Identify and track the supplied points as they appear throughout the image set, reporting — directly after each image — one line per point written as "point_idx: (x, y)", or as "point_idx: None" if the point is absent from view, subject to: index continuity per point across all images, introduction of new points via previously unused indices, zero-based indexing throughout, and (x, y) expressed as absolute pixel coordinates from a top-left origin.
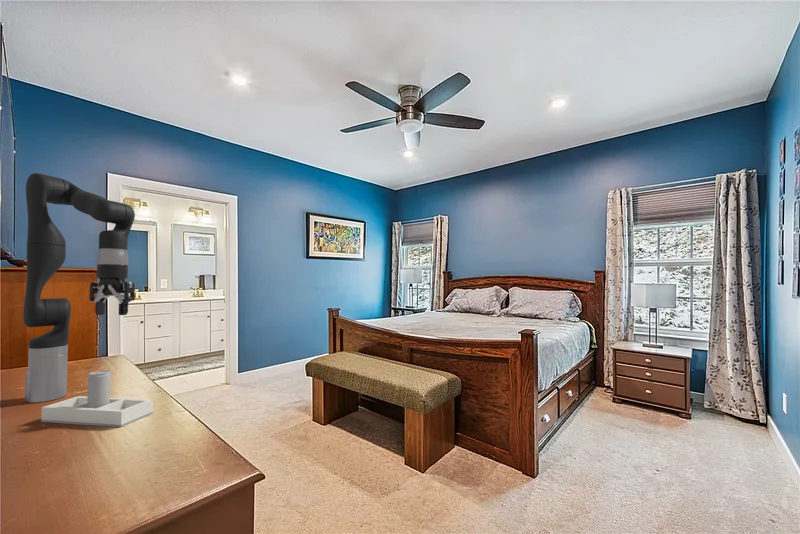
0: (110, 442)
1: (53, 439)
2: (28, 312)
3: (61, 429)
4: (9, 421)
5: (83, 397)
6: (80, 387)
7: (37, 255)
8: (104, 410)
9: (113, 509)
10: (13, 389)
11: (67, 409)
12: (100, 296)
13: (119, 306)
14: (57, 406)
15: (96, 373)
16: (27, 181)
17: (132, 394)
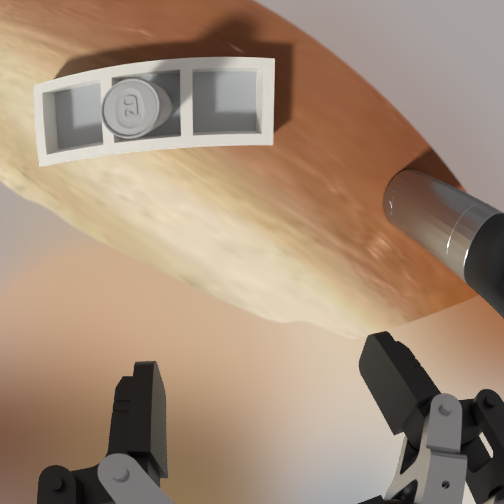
0: (13, 41)
1: (126, 5)
2: None
3: (165, 38)
4: (343, 65)
5: (245, 136)
6: (401, 266)
7: None
8: (76, 74)
9: None
10: None
11: (189, 58)
12: (422, 466)
13: (142, 422)
14: (237, 66)
15: (130, 97)
16: None
17: (237, 253)
